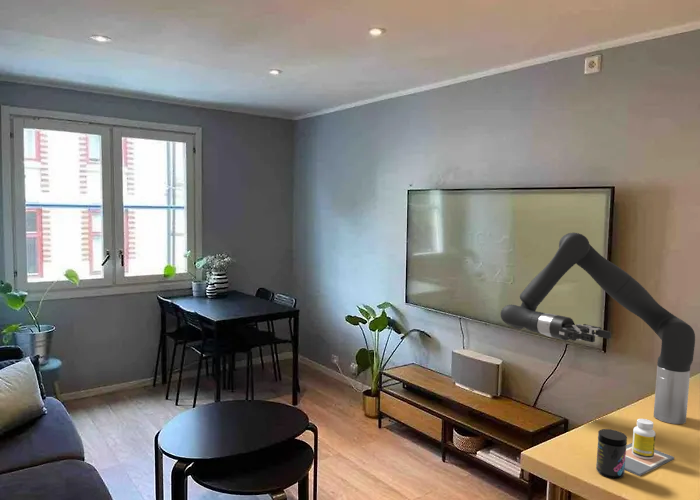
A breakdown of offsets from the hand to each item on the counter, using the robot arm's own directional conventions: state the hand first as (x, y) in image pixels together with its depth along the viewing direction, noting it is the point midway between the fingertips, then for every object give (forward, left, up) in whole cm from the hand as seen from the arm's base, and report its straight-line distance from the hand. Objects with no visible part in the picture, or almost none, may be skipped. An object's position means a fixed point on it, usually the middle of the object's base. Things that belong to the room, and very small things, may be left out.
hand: (602, 337), depth 160 cm
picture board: (+6, +16, -30) cm, 34 cm away
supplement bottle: (+4, +16, -30) cm, 34 cm away
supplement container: (+20, +16, -30) cm, 40 cm away
